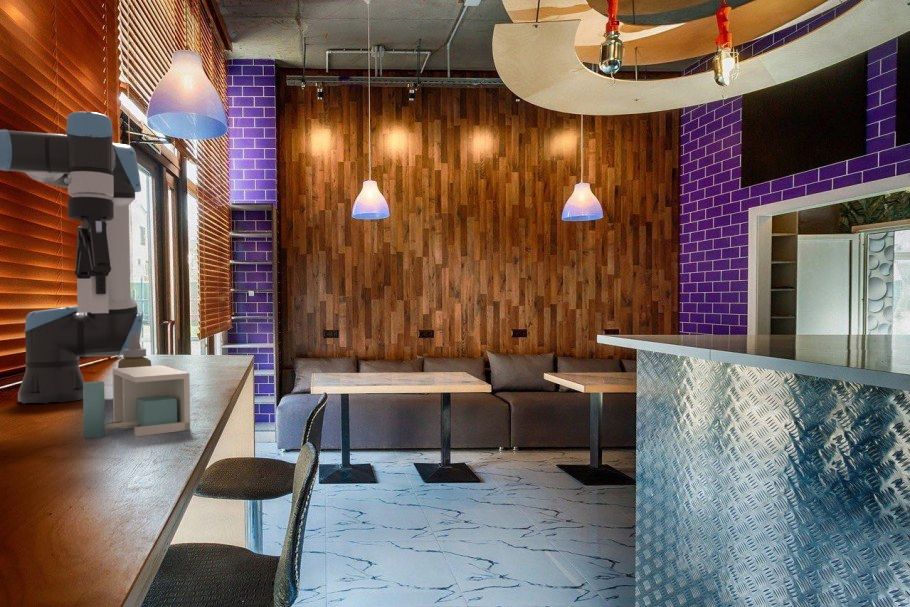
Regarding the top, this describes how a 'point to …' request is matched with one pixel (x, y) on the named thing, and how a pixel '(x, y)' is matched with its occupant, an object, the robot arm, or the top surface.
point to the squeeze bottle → (134, 354)
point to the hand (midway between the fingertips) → (92, 313)
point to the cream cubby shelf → (150, 395)
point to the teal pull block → (147, 415)
